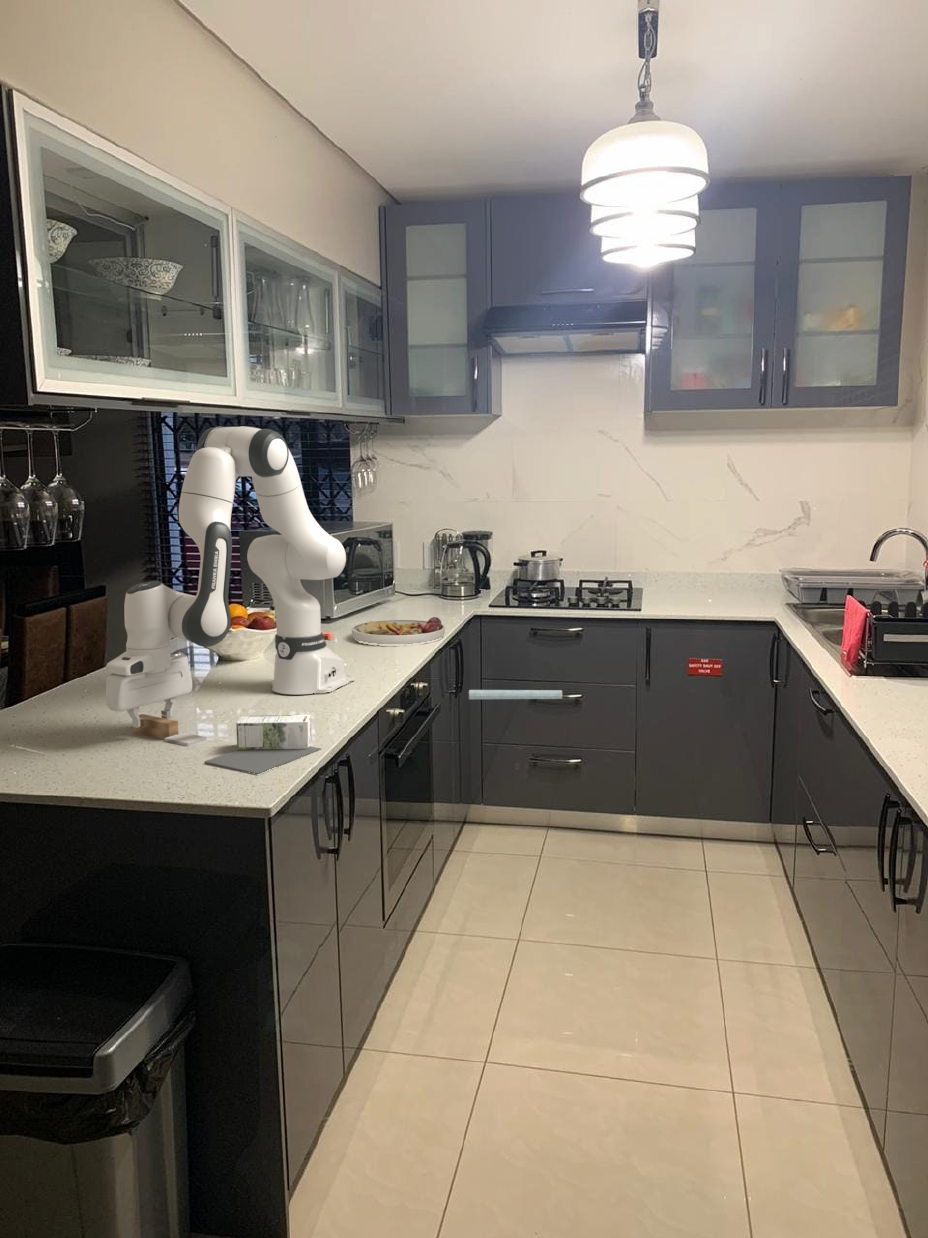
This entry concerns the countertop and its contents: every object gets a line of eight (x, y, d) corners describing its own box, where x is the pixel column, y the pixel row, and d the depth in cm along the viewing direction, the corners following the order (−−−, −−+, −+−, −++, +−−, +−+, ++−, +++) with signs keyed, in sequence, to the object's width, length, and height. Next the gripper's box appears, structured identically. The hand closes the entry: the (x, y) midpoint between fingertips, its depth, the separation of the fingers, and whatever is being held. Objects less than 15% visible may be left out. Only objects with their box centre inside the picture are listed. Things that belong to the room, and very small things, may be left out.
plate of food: (358, 653, 290) (358, 628, 289) (346, 636, 319) (345, 613, 318) (454, 648, 298) (454, 623, 296) (434, 632, 326) (433, 609, 325)
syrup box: (241, 742, 196) (312, 740, 197) (236, 750, 190) (309, 749, 191) (240, 715, 195) (311, 714, 196) (235, 723, 189) (308, 721, 190)
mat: (269, 741, 199) (269, 738, 199) (321, 751, 191) (321, 748, 191) (204, 764, 184) (204, 761, 183) (258, 776, 176) (258, 773, 176)
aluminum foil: (562, 702, 231) (562, 688, 231) (563, 709, 225) (564, 695, 224) (468, 702, 232) (468, 688, 232) (467, 709, 225) (467, 694, 225)
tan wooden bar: (129, 734, 205) (128, 718, 204) (148, 728, 209) (147, 712, 208) (188, 747, 195) (187, 730, 195) (206, 740, 199) (205, 724, 199)
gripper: (177, 649, 212) (180, 709, 214) (99, 666, 195) (103, 731, 197) (197, 652, 209) (200, 713, 211) (119, 669, 191) (123, 736, 194)
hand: (153, 722), depth 204 cm, fingers open, 6 cm apart
